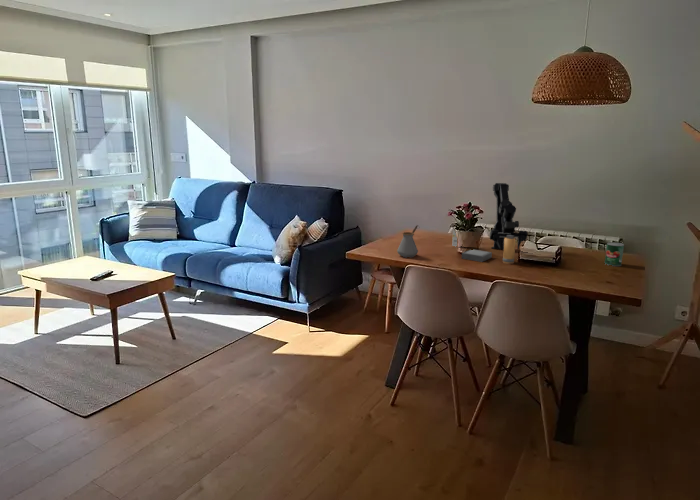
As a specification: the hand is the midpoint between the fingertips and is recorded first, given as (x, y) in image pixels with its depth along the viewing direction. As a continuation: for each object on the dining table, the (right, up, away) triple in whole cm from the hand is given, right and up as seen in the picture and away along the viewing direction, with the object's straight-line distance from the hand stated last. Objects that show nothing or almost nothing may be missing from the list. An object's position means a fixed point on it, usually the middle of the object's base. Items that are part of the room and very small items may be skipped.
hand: (509, 248), depth 262 cm
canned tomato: (+54, -9, -1) cm, 54 cm away
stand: (-15, -5, +11) cm, 19 cm away
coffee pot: (-50, -3, +20) cm, 53 cm away
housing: (0, -7, +2) cm, 8 cm away
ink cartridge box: (-18, +1, +38) cm, 42 cm away
